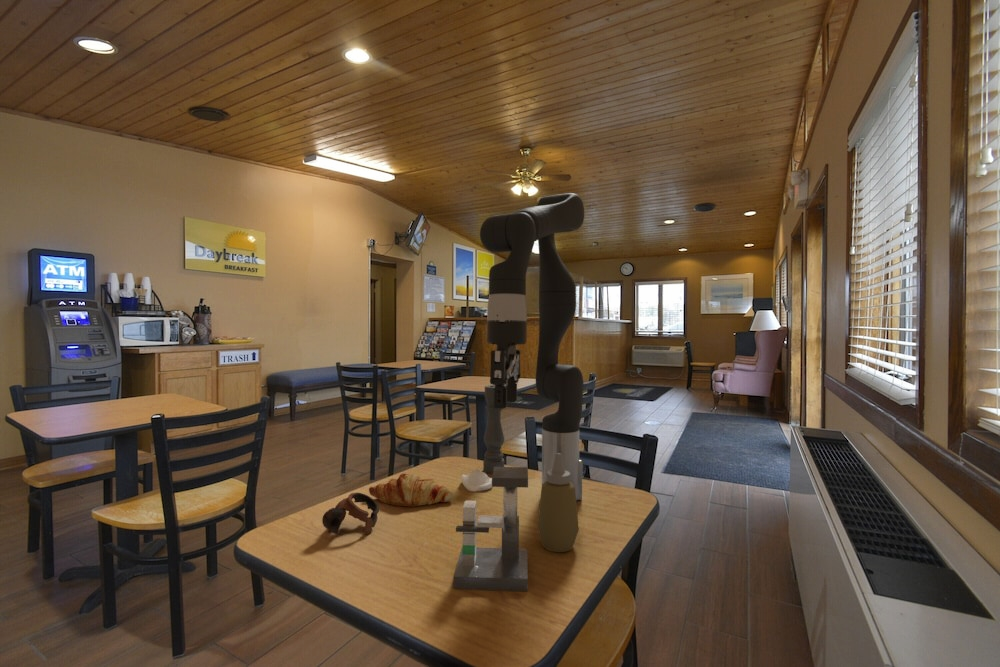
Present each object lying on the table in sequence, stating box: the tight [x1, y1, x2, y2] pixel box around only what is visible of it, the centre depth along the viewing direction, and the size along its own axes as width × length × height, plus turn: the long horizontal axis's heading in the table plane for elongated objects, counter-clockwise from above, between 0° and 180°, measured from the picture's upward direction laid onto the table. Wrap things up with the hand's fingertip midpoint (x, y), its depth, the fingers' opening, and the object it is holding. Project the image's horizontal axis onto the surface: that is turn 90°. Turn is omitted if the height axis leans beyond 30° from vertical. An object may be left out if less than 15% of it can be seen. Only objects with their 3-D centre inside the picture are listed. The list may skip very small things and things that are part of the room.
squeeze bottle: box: [537, 453, 580, 553], centre depth 90 cm, size 8×8×18 cm
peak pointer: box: [455, 525, 490, 534], centre depth 77 cm, size 6×1×1 cm, turn 87°
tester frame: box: [453, 500, 529, 592], centre depth 79 cm, size 12×10×12 cm
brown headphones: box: [321, 492, 380, 535], centre depth 95 cm, size 12×10×8 cm
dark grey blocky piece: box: [476, 466, 529, 533], centre depth 79 cm, size 8×6×10 cm
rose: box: [461, 469, 493, 493], centre depth 124 cm, size 10×4×10 cm
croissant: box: [368, 472, 455, 508], centre depth 112 cm, size 21×10×8 cm, turn 87°
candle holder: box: [482, 384, 505, 475], centre depth 136 cm, size 6×6×25 cm
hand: (506, 404), depth 87 cm, fingers open, 8 cm apart
